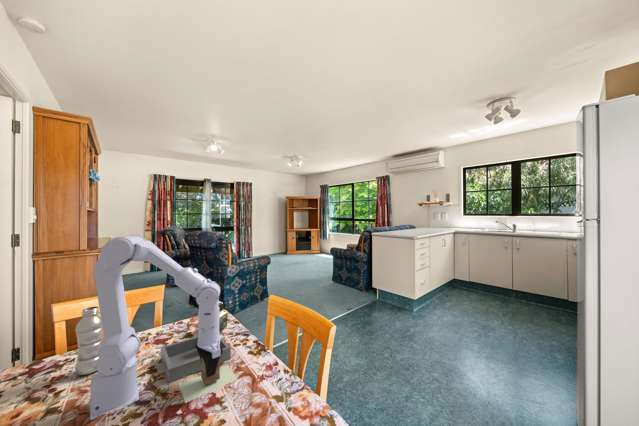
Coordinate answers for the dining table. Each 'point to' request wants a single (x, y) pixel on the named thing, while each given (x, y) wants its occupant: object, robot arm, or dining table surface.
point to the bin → (186, 358)
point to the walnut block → (211, 378)
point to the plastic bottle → (88, 341)
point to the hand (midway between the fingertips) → (208, 371)
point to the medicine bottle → (222, 318)
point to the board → (198, 388)
